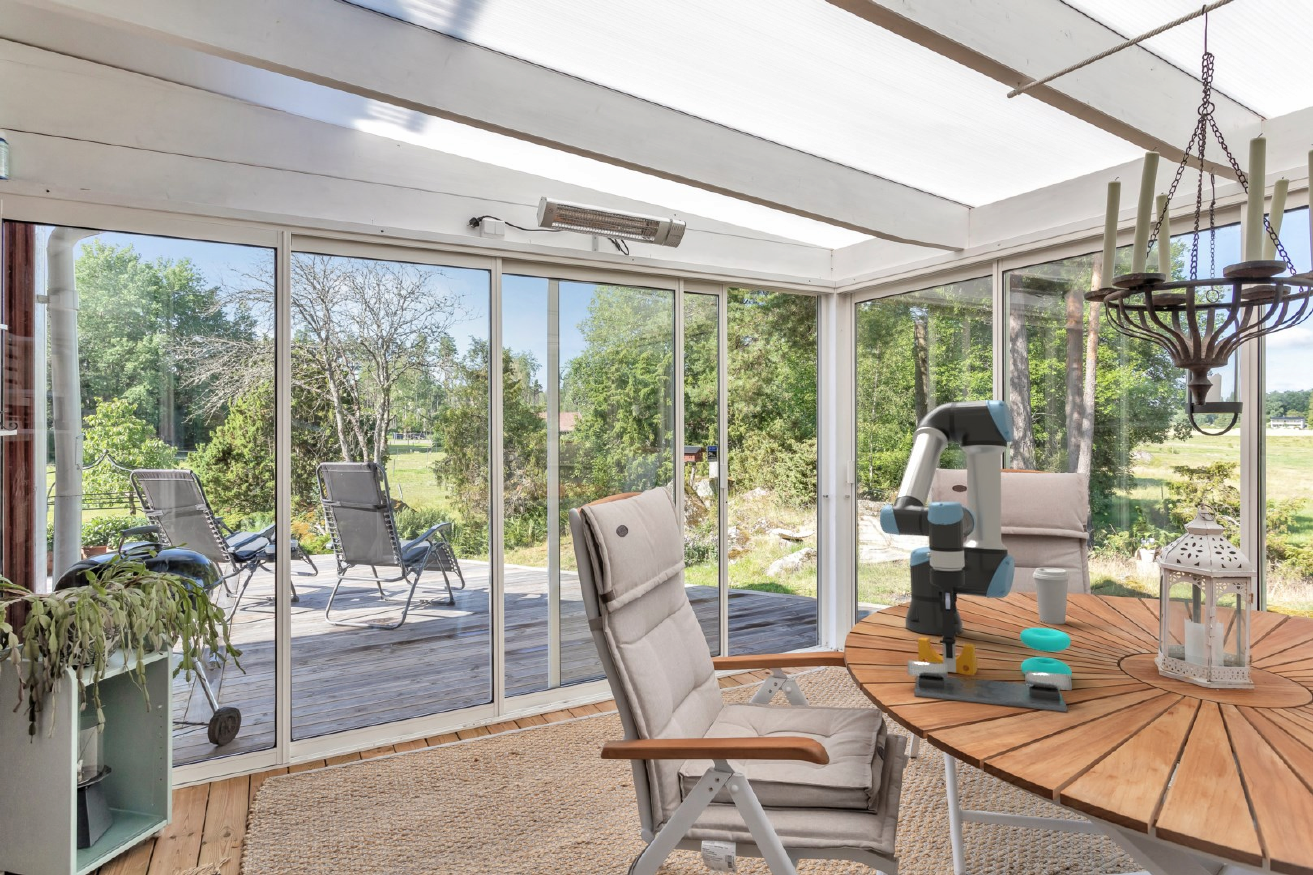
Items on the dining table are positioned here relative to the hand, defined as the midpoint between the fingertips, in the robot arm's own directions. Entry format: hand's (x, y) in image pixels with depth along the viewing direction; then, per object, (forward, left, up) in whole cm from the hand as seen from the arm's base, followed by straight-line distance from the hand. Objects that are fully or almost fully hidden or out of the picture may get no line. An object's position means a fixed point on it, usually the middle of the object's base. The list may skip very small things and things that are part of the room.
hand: (949, 667), depth 164 cm
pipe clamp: (0, 0, -1) cm, 1 cm away
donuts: (-1, +20, -1) cm, 20 cm away
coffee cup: (-55, +28, -1) cm, 62 cm away
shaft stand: (+15, +7, 0) cm, 16 cm away
